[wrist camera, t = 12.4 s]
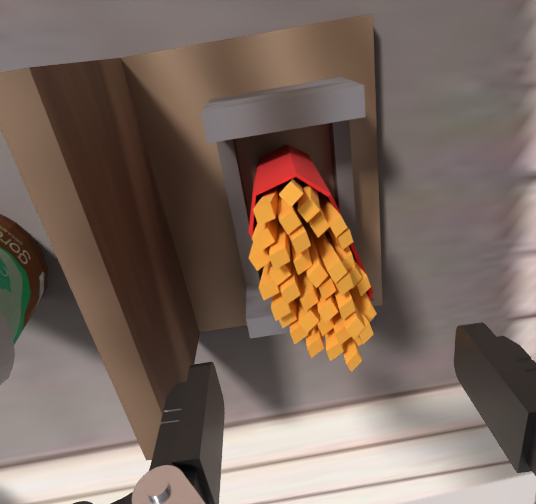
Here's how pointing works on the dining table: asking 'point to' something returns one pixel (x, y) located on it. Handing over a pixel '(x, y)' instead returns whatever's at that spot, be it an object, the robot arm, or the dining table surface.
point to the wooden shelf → (188, 184)
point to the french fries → (308, 257)
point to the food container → (17, 287)
